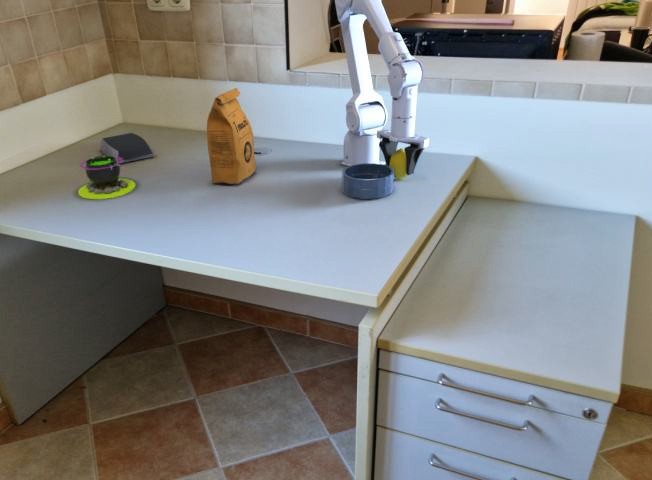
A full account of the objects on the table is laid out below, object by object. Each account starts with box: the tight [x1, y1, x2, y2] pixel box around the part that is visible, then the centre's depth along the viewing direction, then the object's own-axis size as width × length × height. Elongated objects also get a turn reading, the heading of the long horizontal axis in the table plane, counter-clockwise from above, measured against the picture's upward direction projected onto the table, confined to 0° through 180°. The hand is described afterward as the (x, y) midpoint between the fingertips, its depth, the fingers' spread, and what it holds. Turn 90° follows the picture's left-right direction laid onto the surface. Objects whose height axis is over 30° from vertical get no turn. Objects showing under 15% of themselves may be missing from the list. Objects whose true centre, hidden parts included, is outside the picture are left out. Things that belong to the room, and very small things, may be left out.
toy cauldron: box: [77, 144, 136, 200], centre depth 156 cm, size 15×15×11 cm
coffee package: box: [206, 87, 257, 185], centre depth 154 cm, size 10×12×22 cm
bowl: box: [341, 163, 395, 200], centre depth 146 cm, size 12×12×5 cm
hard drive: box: [99, 132, 155, 164], centre depth 184 cm, size 13×19×4 cm
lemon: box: [389, 147, 408, 181], centre depth 151 cm, size 6×6×8 cm
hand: (400, 171), depth 152 cm, fingers open, 6 cm apart
